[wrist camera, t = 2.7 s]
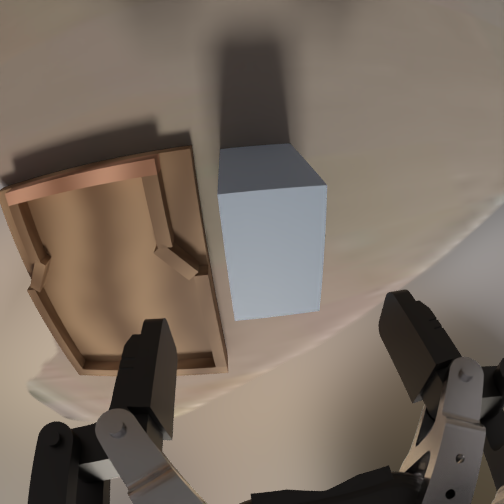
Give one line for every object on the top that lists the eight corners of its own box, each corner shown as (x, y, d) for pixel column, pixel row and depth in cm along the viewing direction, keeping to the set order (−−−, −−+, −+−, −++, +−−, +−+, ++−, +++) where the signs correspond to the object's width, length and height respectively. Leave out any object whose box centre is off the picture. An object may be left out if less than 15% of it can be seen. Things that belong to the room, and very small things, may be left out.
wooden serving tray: (191, 145, 19) (188, 153, 17) (227, 354, 29) (228, 372, 28) (3, 187, 18) (-12, 198, 16) (84, 359, 29) (79, 374, 27)
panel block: (289, 143, 19) (327, 185, 12) (291, 236, 23) (319, 310, 16) (220, 148, 19) (217, 194, 12) (230, 242, 23) (235, 320, 16)
